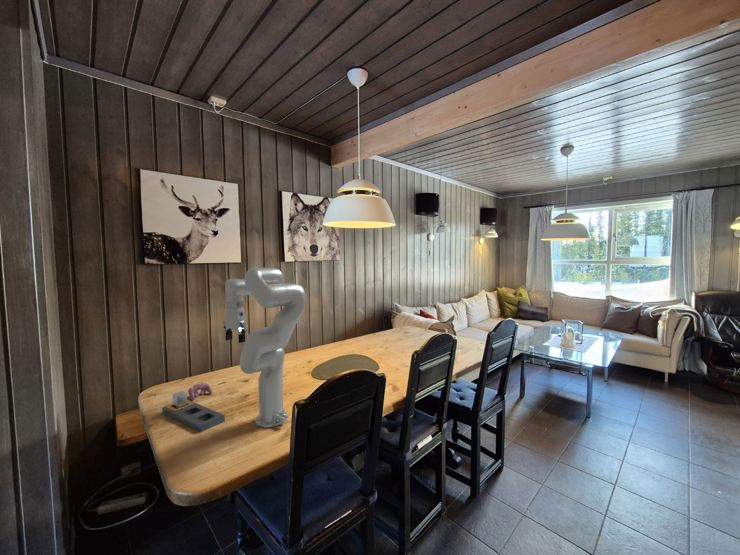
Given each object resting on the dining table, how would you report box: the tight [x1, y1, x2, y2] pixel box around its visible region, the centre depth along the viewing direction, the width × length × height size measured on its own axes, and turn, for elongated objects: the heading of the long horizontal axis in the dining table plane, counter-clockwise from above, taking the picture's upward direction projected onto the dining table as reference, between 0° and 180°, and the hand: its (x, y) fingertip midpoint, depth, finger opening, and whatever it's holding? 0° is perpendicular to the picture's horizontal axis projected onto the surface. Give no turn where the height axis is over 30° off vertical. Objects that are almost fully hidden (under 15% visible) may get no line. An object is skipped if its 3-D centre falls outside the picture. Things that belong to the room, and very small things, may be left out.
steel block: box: [172, 390, 188, 409], centre depth 136 cm, size 4×4×8 cm
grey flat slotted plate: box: [161, 399, 226, 433], centre depth 131 cm, size 30×10×3 cm, turn 58°
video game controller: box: [187, 382, 213, 401], centre depth 152 cm, size 10×5×7 cm, turn 142°
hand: (235, 340), depth 147 cm, fingers open, 9 cm apart
